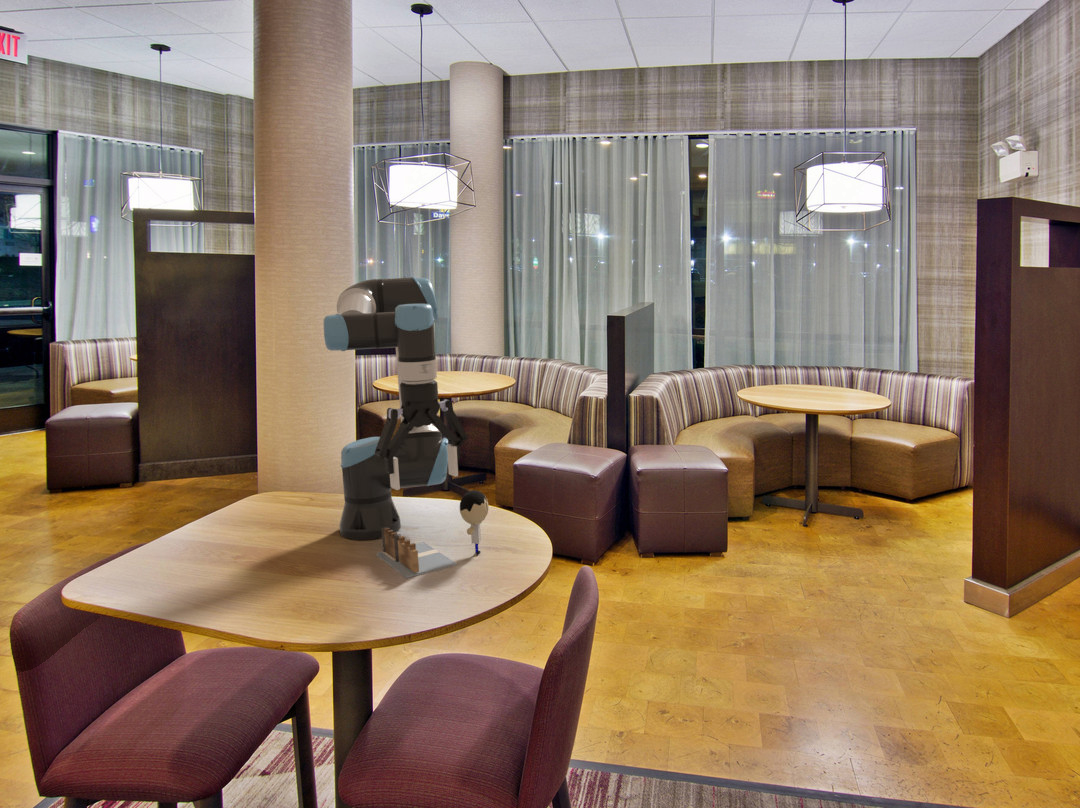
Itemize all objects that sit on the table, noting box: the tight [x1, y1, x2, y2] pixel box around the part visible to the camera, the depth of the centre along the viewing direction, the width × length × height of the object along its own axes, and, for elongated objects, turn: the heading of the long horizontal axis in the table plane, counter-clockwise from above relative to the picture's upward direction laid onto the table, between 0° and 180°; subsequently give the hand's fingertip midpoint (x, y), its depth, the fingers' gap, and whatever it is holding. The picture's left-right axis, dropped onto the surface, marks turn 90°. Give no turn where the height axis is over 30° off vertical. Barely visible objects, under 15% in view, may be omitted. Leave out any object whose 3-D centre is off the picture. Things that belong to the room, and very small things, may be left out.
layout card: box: [376, 541, 457, 579], centre depth 174 cm, size 17×12×1 cm
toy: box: [459, 490, 490, 555], centre depth 175 cm, size 9×7×15 cm
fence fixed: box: [381, 527, 402, 562], centre depth 176 cm, size 9×2×6 cm, turn 34°
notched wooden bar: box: [398, 535, 419, 573], centre depth 168 cm, size 8×1×6 cm, turn 34°
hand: (425, 481), depth 160 cm, fingers open, 13 cm apart
